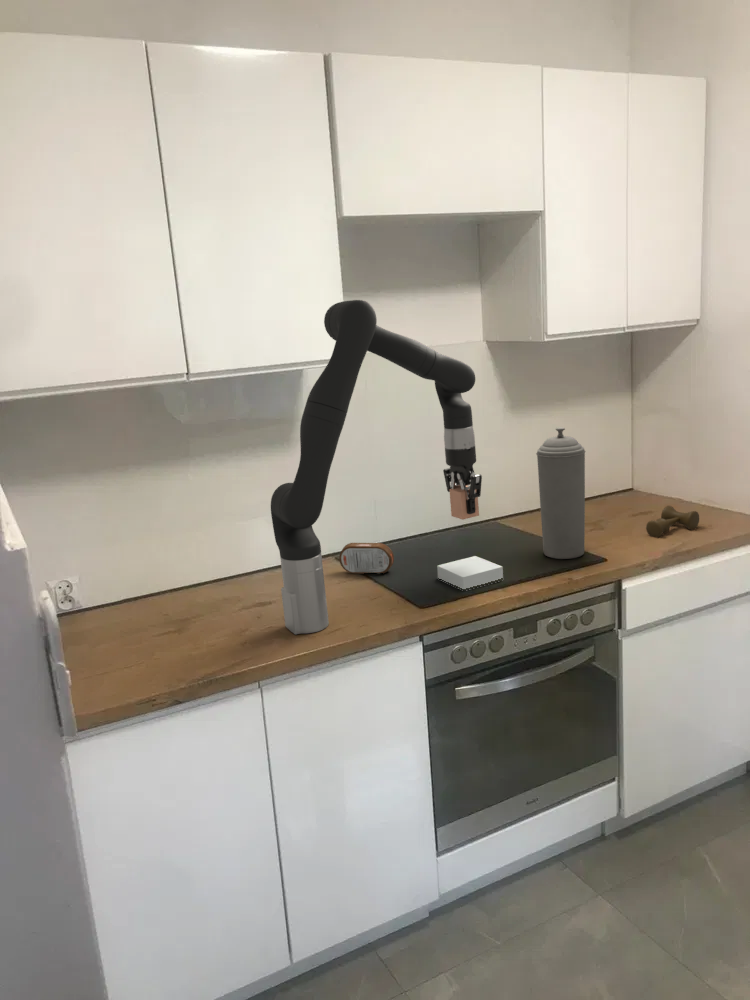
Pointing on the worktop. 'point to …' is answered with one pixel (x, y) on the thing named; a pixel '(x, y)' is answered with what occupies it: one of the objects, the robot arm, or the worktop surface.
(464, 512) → the terracotta block
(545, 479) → the canister
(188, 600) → the worktop surface
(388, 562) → the tin
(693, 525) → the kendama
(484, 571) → the white block
